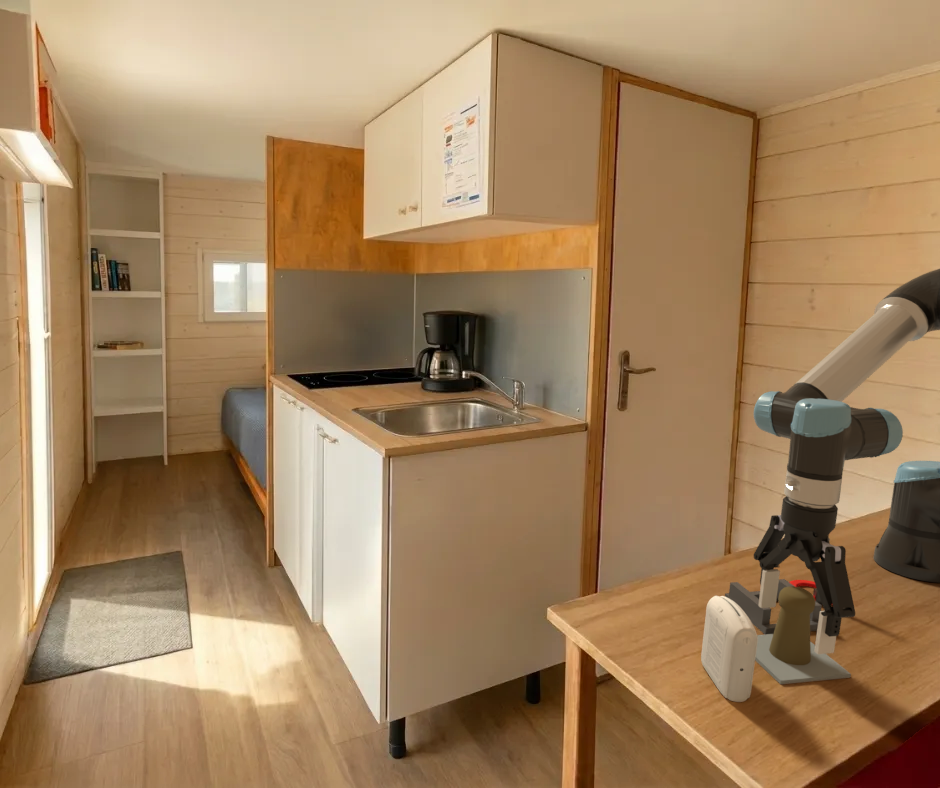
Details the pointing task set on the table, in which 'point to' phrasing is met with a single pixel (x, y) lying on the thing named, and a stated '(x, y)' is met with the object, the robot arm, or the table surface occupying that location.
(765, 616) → the grey square frame
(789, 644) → the cork
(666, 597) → the table surface
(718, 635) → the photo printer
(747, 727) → the table surface
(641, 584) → the table surface
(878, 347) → the robot arm
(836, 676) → the mat
